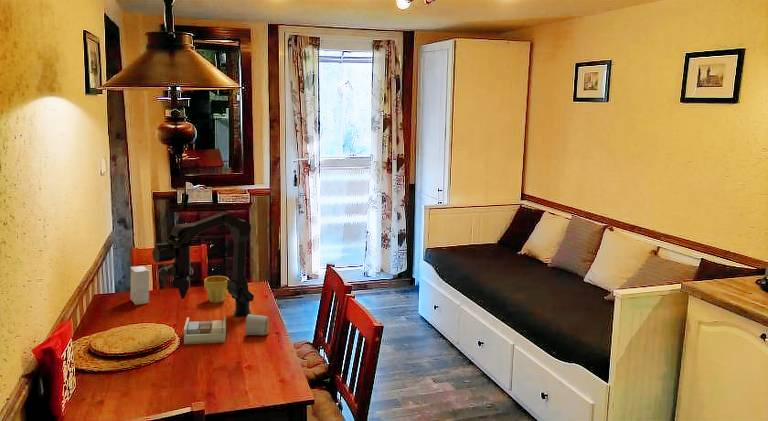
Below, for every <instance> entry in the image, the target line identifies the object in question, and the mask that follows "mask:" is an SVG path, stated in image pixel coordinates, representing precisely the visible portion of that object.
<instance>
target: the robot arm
mask: <svg viewBox="0 0 768 421" xmlns="http://www.w3.org/2000/svg"><path fill="white" fill-rule="evenodd" d="M222 225H225V226H227V227H229V229H230V235H231V237H232V241H233V255H232V256H233V257H232V258H233V260H232V276H231V278H230V279H229V280H227V288H226V289H227V291H228V292H227V293H228V294H229V295H230V296H231V299H234V300H235V304H234V305H235V307H234V315H233V316H234V317H247V316H248V314H251V308H250V303H251V302H253V301H254V299H255V295H254V294H253V293H252V292H251V291H250V289H249V283H248V280H247V278H246V257H247V256H246V253H247V252H246V251H247V249H246V248H247V241H248V239H249V237H250V235H251V230H252V225H251V223H250V222H249V221H247V220H245V219H240V218H237V217H235V216H233V215H231V214H230V213H228V212H225V211H220V212H218V213H217V214H214V215H211V216H209V217H206V218H203V219H201V220H198V221H194V222H190V223H189V222H187V223H180V224H175V225H174V226H173V227H172V229H171V232H170V234H169V235H168V237H167V238H166V240H165V242H164V243H155V244H154V248H153V249H152V252H151V254H152V259H153V261H154V262H155V263H156V264H157V263H164V262H170V261H173V263H172V264H169V265H166V266H163V267H161V268H159V269H158V271H157V272H158V277H159V278H160V280H164V279H165V278H168V277H171V276H172V277H173V278H172V279H171V284H170V285H171V286H170V287H172V288H177V289H178V291H179V296H180V298H181V300H184V299H185V298H186V295H187V292H188V290H189V287H190V286H191V285H190V284H191V281H192V277H190V276H193V274H194V269H193V267H191V263H192V260H191V247H195V246H196V243H194V241H193V239H195V238H196V237H197V236H198V235H199V234H201V233H204V232H206V231H209V230H211V229H214V228H217V227H219V226H222ZM251 315H252V314H251Z"/></svg>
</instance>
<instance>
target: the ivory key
mask: <svg viewBox="0 0 768 421" xmlns="http://www.w3.org/2000/svg"><path fill="white" fill-rule="evenodd" d="M212 322H213V323H212V333H222V329H223V319H222V320H221V319H220V320H212Z"/></svg>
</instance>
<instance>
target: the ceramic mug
mask: <svg viewBox="0 0 768 421" xmlns="http://www.w3.org/2000/svg"><path fill="white" fill-rule="evenodd" d="M244 328H245V330H244V331H245V332H244V333H245V336H266V335H267V334H268V333H269V330H270V318H269V317H268V316H266V315H257V314H248V316H246V319H245V327H244Z"/></svg>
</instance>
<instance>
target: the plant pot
mask: <svg viewBox="0 0 768 421" xmlns="http://www.w3.org/2000/svg"><path fill="white" fill-rule="evenodd" d="M227 280H230V279H229V277H227V276H223V275H212V276H208V277H206V278H204V282H203V283H204V288H205V289H206V293H207V297H208V301H209V302H210V303H213V304H214V303H216V304H217V303H222V302H224V301H225V299H226V294H227V291H228V289H226V288H227Z"/></svg>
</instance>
